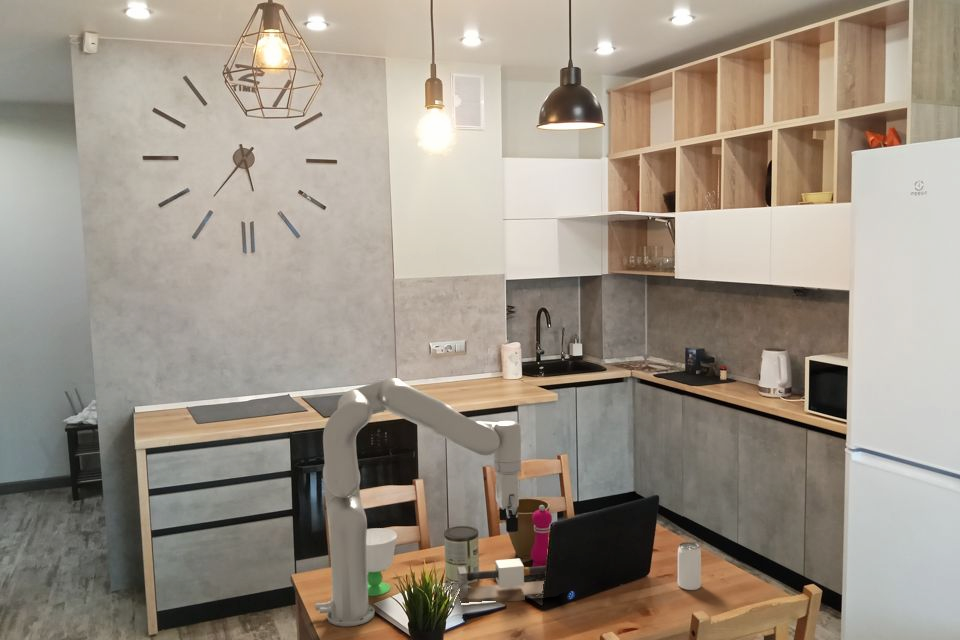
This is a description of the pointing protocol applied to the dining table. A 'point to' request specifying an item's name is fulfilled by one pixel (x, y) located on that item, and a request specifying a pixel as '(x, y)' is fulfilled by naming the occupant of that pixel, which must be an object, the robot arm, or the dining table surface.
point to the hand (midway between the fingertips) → (508, 525)
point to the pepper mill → (540, 536)
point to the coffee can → (461, 551)
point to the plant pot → (526, 526)
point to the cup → (379, 558)
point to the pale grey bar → (497, 586)
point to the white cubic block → (510, 572)
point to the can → (689, 566)
